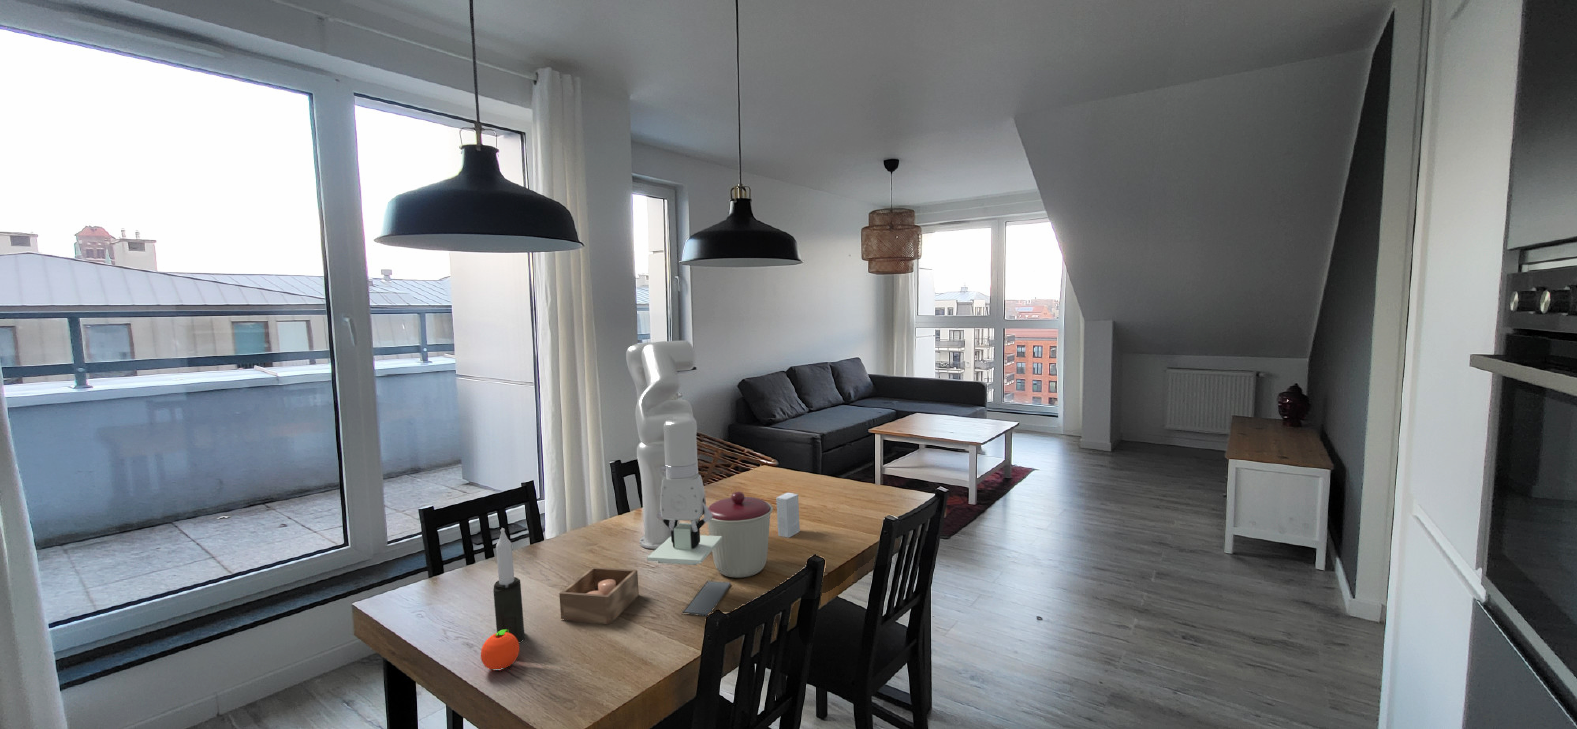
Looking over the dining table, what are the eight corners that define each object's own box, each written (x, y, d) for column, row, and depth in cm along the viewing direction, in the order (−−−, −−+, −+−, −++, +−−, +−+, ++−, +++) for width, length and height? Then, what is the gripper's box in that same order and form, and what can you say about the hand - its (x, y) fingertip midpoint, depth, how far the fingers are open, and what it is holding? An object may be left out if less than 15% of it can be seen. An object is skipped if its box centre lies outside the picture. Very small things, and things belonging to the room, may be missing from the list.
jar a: (604, 596, 148) (603, 578, 147) (619, 597, 147) (618, 579, 147) (596, 604, 144) (594, 586, 144) (611, 605, 143) (610, 587, 143)
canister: (788, 566, 163) (786, 489, 161) (742, 591, 149) (738, 507, 148) (740, 551, 175) (736, 479, 173) (692, 573, 161) (688, 495, 159)
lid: (673, 541, 155) (672, 514, 154) (722, 544, 152) (721, 516, 151) (647, 565, 140) (645, 536, 140) (700, 568, 137) (699, 538, 137)
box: (594, 594, 151) (592, 567, 150) (639, 597, 148) (637, 570, 147) (561, 623, 137) (559, 593, 136) (610, 627, 134) (608, 597, 134)
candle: (497, 651, 126) (488, 534, 124) (498, 639, 131) (489, 526, 129) (524, 645, 128) (515, 530, 126) (524, 634, 133) (515, 522, 131)
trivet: (671, 580, 157) (670, 578, 157) (730, 584, 153) (730, 582, 153) (643, 611, 141) (643, 608, 141) (708, 616, 138) (708, 613, 138)
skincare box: (788, 529, 191) (787, 492, 189) (800, 532, 188) (798, 494, 187) (777, 535, 186) (775, 497, 185) (788, 538, 183) (787, 499, 182)
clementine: (493, 656, 125) (490, 622, 124) (528, 653, 125) (525, 620, 125) (475, 679, 117) (472, 644, 116) (512, 677, 117) (509, 641, 117)
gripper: (642, 474, 143) (646, 550, 144) (710, 475, 139) (714, 553, 141) (656, 466, 150) (660, 538, 152) (720, 467, 146) (724, 541, 148)
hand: (686, 545), depth 146 cm, fingers closed on lid, 4 cm apart
